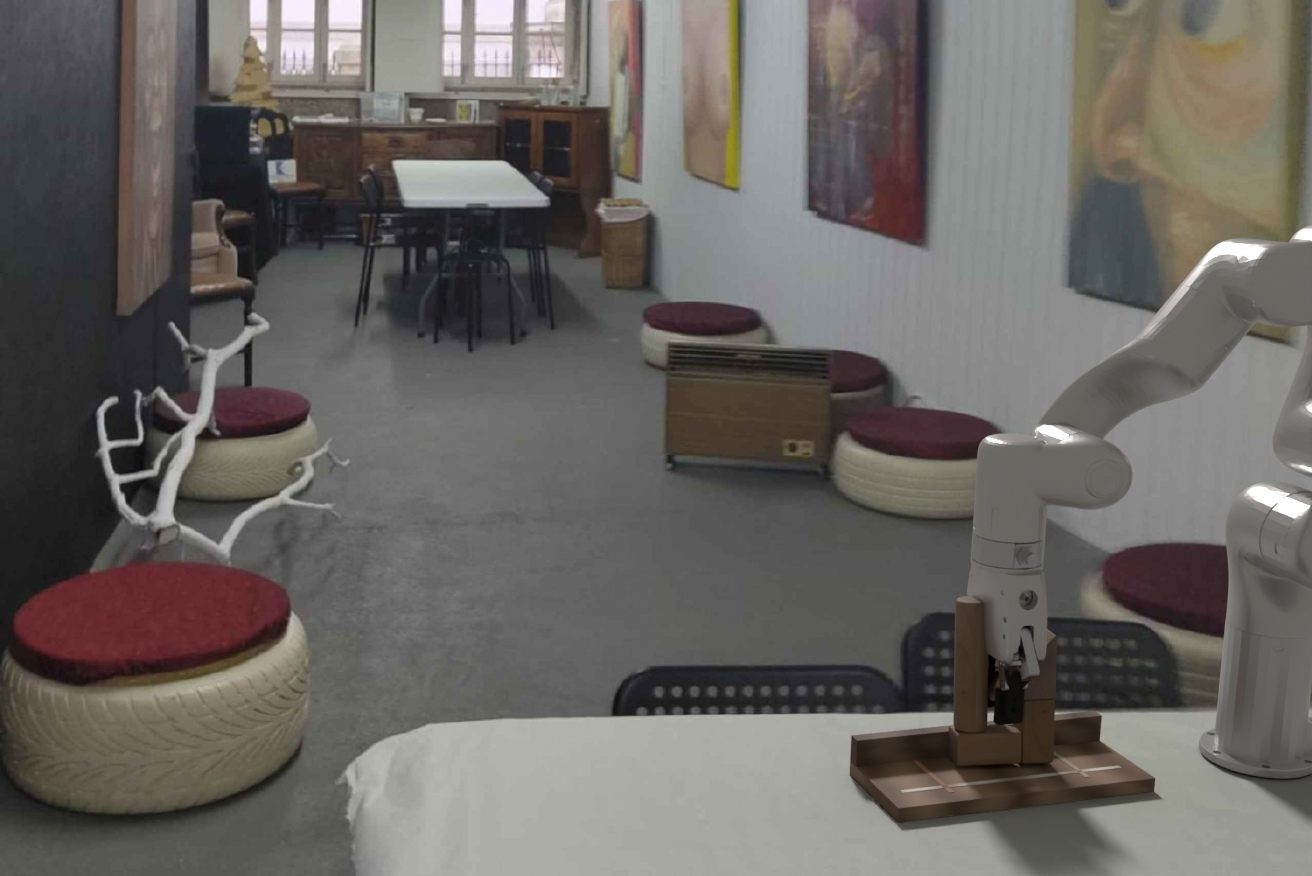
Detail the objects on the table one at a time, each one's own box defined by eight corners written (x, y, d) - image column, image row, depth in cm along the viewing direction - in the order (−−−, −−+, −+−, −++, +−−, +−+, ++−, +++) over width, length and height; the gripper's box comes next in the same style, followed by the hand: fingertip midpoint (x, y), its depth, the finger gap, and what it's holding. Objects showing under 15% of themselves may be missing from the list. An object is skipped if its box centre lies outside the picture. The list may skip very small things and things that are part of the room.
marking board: (1091, 748, 170) (1094, 710, 169) (1154, 791, 159) (1157, 751, 158) (849, 774, 161) (851, 735, 161) (897, 822, 150) (899, 780, 149)
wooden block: (1054, 763, 160) (1058, 600, 158) (957, 768, 159) (959, 604, 157) (1042, 752, 164) (1046, 592, 161) (947, 756, 163) (949, 595, 160)
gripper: (1082, 571, 150) (1069, 741, 154) (999, 529, 166) (989, 685, 170) (1016, 575, 148) (1004, 748, 152) (938, 533, 164) (929, 690, 167)
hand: (996, 713), depth 161 cm, fingers closed on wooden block, 4 cm apart
